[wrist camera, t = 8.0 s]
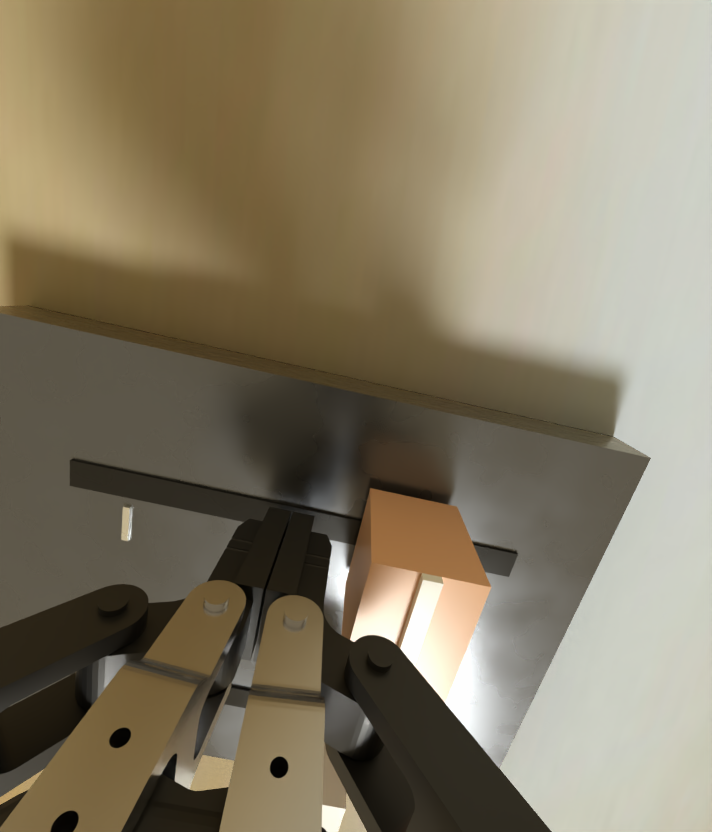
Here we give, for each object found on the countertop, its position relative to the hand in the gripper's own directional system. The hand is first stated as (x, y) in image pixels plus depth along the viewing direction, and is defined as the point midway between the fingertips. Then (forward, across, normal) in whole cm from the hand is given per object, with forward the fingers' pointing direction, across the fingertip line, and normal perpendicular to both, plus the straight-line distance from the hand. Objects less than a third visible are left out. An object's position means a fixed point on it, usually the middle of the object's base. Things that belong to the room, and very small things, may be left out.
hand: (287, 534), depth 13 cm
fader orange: (+1, -4, 0) cm, 4 cm away
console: (+3, 0, +4) cm, 5 cm away
